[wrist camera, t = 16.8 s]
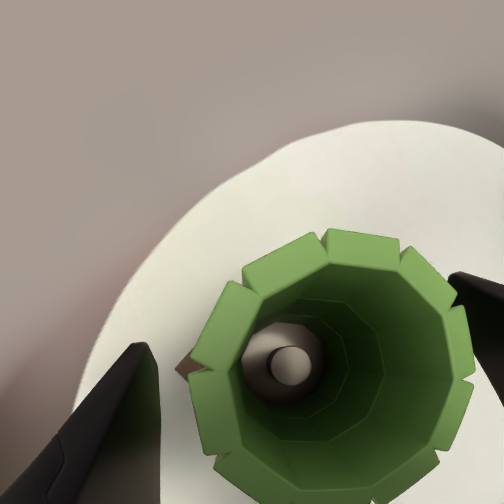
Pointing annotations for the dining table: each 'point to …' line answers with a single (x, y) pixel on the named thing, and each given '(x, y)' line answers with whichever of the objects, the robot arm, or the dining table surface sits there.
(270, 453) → the green ribbed pen cup
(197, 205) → the dining table surface
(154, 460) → the robot arm
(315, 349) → the wooden base
